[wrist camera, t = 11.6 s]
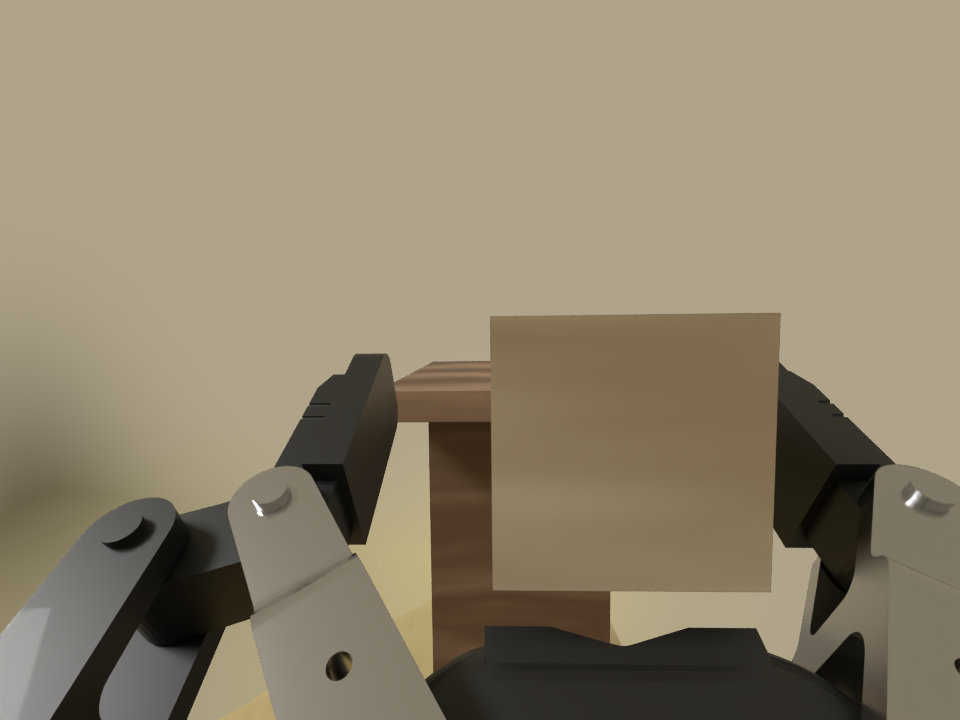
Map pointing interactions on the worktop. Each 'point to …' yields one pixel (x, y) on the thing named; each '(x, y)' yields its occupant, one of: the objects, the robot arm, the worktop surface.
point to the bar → (634, 451)
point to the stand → (475, 519)
